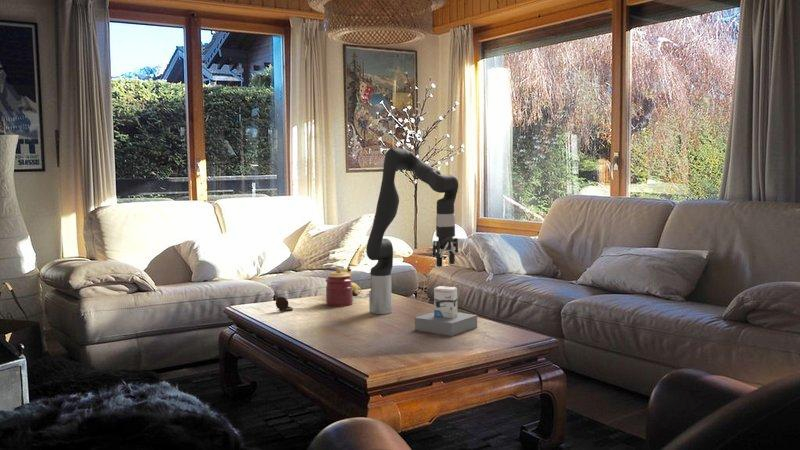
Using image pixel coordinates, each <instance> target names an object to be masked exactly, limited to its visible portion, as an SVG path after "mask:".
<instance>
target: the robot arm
mask: <svg viewBox="0 0 800 450" xmlns="http://www.w3.org/2000/svg"><path fill="white" fill-rule="evenodd" d="M383 160H384V161H383V167H382V168H383V169H382V179H381V183H380V191H379V194H378V200H377V203H376V209H375V214H374V218H373V222H372V226H371V227H372V228H371V229H370V230H371V231H370V233H369V236H368V240H367V243H366V252H365V253H366V256H367V259H369V260H371V261H377V262H376V264H375V265H374V266H373V267H371V268H370V291H369V292H368V293H369V297H368V298H369V300H368V302H369V304H368V305H369V312H370V313H371V314H375V315H388V314H391V313H392V308H393V307H392V304H393V303H392V300H393V299H392V270H393V265H394V263H393V259H394V247H393V244H392V241H391V240H390V239H389V238H384V235H385V232H386V231H387V229H388V227H390V225H391V223H392V222H393V221H394V220H395V218H396V216H397V214H398V208H399V204H400V195H399V193H398V190H397V187H396V184H395V183H396V182H395V179H396V172H397V171H405V170H406V171H411V172H413V173H414V175H415V177H417V179H418V180H420V181H421V182H423V183H425V184H426V185H428V186H429V188H430V189H432V191H434V192H435V193H440V194H441V193H442V194H443V197H441V198H439V199H437V200H436V216H435V236H436V238H438V239H437V240H433V241H432V256H433V257H435V259H436V266H437V268H438V267H440V268H441V267H443V256H444V254H445V253H446V251H447V252H448V263H449V264H450V265H454V264H455V262H456V260H455V257H456V254H457V253H459V242H458V241H459V239H458V238H457V237H456V219H455V217H456V216H455V202H456V198H457V194H458V189H459V180H458V179H457V176H455V175H454V174H441V172H440V171H439V169H437V168H435V167H433V166H431V165H429V164H427V163H425V162H424V161H422V160H421V159H420V158H418V157H417V156H416V155H415V154H414V153H413V152H411V151H410V150H409V149H406V148H399V147H398V148H395V147H393V148H389V149H387V151H386V153H385V155H384V159H383Z"/></svg>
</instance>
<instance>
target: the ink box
mask: <svg viewBox="0 0 800 450" xmlns="http://www.w3.org/2000/svg"><path fill="white" fill-rule="evenodd" d="M433 306H434V307H433V312H434V316H435V317H445V318H454V317H456V316H457V312H458V288H457V286H456V287H455V286H443V285H438V286H436V287H434V288H433Z"/></svg>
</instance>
